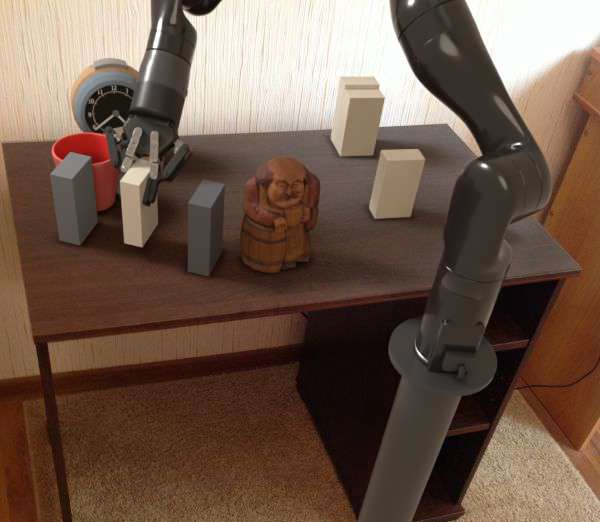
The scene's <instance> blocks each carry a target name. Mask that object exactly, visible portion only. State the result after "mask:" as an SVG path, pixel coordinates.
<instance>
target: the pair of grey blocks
mask: <svg viewBox="0 0 600 522" xmlns="http://www.w3.org/2000/svg"><path fill="white" fill-rule="evenodd" d="M49 176H50V183H51V191H52V197H53V204H54V211H55V217H56V225H57V232H58V240H59V242H63V243H68V244H71V245H76V246H81V245H82V244H83V243H84V241H85V240H86V239H87V237H88V236H89V234H90V233H91V232H92V231H93V229H94V228H95V227H96V226H97V224H98V223H99V222H98V221H99V220H98V211H97V209H96V199H95V188H94V178H93V167H92V157H90V156H86V155H81V154H77V153H73V152H70V153H69V154H68V155H67V156H66V157H65V158H64V159H63V160H62V162H61V163H60V164H59V165H58V166H57V167H56V166H55V168H54V169H53V170H52V171H51V172H50V174H49ZM225 193H226V183H221V182H217V181H213V180H210V179H205V178H203V179H202V180H201V182H200V183H199V185H198V187H196V190H195V191H194V193H193V194H192V196H191V198H190V199H189V200H188V203H187V204H188V205H187V214H188V215H187V272H188V273H192V274H195V275H200V276H205V277H210V276H211V274H212V271H213V269H214V268H215V266H216V264H217V262H218V260H219V258H220V257H221V254H222V252H223V237H224V217H225V215H224V213H225V196H226V195H225Z"/></svg>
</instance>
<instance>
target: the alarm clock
mask: <svg viewBox="0 0 600 522" xmlns="http://www.w3.org/2000/svg"><path fill="white" fill-rule="evenodd" d="M92 63H93V64H91V65H88V67H87V68H85V69H84V70H83V71H81V73H80V74H79V75H78V77H77V78H76V79H75V81H74V82H73V84H72V88H71V90H70V102H69V103H70V107H71V111H72V115H73V120H74V121H75V123H76V125H77V127H78V128H79V130H80V131H81V132H82V133H98V134H103V135H106V134H105V128H106V127H108V126H110V127H112V128H118V127H123V125H124V123H125V122H126V120H127V119H128V117H129V111H130V107H131V102H132V98H133V94H134V90H135V85H136V81H137V77H138V73H139V70H137V69H135V68H134V67H132V66H131V65H129V64H127V61H126V60H124V59H120V58H115V57H106V58H100V59H97V60H93V62H92ZM119 144H120V147H121V156H122V161H124V159H125V153H126V151H127V148H128V146H129V143H128V141H127V138H126V136H125V135H124V136H123V140H122V142H121V143H119ZM141 159H143V160H147V161H150V158H149V157H142V158H141Z"/></svg>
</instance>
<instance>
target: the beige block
mask: <svg viewBox="0 0 600 522" xmlns="http://www.w3.org/2000/svg"><path fill="white" fill-rule="evenodd" d="M149 178H150V161H147V160H143V159H139V160H137V161H136V162H134V164H133V165H132V166H131V168H130V169H129V170H128V171H127V173H126V174H125V175H124V177H123V178H122V179H121V180H120V189H121V199H120V201H121V215H122V231H123V243H124V244H126V245H130V246H135V247H139V248H144V246H145V244H146V243H147V241H148V240H149V238H150V237H151V235H152V234H153V232H154V230H155V229H156V228H157V226H158V225H159V211H158V209H159V208H158V206H159V205H158V195H157V196H156V200H155V202H154V203H153V204H152V203H151V205H150V207H148V206H145V205H144V204H143V203H142V200H143V196H144V192H145V187H146V183H147V179H149Z"/></svg>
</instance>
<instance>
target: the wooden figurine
mask: <svg viewBox="0 0 600 522" xmlns="http://www.w3.org/2000/svg"><path fill="white" fill-rule="evenodd" d="M320 194H321V181H320V178H319V177H318V176H317V175H316V174H315V173H313V172H311V171H310V170H308V168H307V167H306V165H305V164H304V163H303V162H302V161H301V160H298V159H297V158H295V157H292V156H285V155H284V156H283V155H282V156H277V157H274V158H271V159H269V160H267V161H265V162H264V163H263V164H262V165H260V166H259V167H258V168H257V170H256V171H255V172H254V176H253V177H251V178H250V179H249V180H248V181H246V183H245V184H244V188H243V195H242V202H241V207H242V210H243V212H244V215H243V218H242V220H241V226H240V234H239V235H240V237H239V244H240V254H241V260H242V262H243V263H244V264H245V265H246V266H247V267H250V268H251V269H253V270H255V271H259V272H261V273H265V274H266V273H267V274H277V273H279V272H280V271H281V270H289V269H295V268H296V267H297V265H298V263H302V262H303V263H308V262H309V260H310V255H311V254H310V252H311V250H310V249H311V232H312V231H313V230H314V229H315V227H316V225H317V223H318V218H319V212H320V211H319V208H318V207H319V203H320Z"/></svg>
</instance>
